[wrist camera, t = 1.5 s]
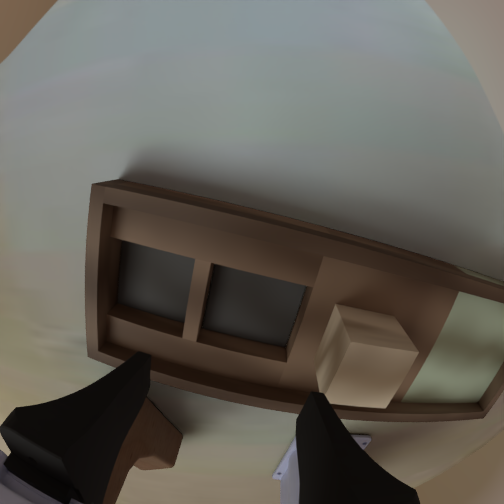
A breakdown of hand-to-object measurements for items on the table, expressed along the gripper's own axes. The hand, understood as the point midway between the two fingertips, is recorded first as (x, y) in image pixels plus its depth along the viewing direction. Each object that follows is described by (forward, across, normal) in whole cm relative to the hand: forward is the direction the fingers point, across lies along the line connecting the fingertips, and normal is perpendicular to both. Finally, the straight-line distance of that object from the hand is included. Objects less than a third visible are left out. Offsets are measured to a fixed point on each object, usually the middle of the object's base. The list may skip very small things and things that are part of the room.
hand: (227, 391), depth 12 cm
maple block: (+8, -8, 0) cm, 11 cm away
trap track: (+9, -8, 0) cm, 12 cm away
